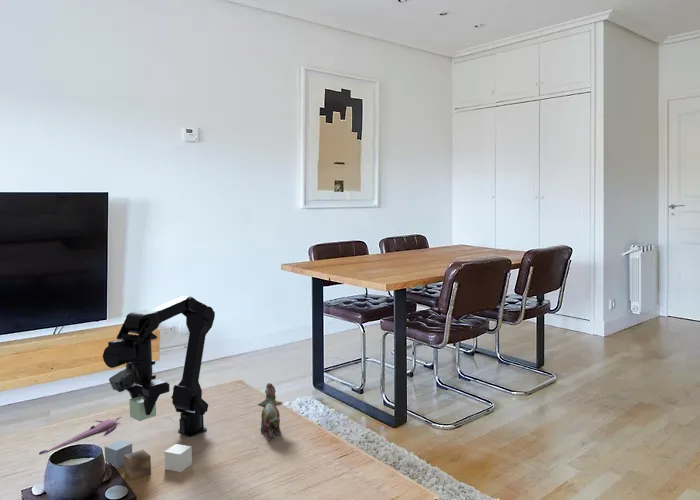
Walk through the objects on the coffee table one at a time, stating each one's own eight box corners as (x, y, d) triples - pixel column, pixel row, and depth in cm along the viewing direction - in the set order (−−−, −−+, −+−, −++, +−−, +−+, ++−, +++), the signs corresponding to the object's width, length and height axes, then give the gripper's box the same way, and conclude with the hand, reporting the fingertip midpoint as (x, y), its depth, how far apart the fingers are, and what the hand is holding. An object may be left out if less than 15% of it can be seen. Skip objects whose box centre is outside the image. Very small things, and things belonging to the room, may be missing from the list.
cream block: (176, 461, 154) (176, 443, 154) (191, 464, 153) (191, 446, 152) (164, 469, 150) (164, 451, 149) (180, 472, 148) (179, 454, 148)
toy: (112, 409, 185) (133, 419, 180) (112, 415, 185) (132, 425, 181) (29, 445, 161) (51, 457, 156) (29, 453, 161) (51, 465, 156)
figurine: (285, 426, 178) (284, 380, 176) (277, 442, 166) (276, 393, 165) (261, 425, 179) (261, 379, 177) (251, 441, 167) (250, 392, 165)
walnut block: (143, 467, 151) (142, 449, 151) (151, 473, 147) (150, 455, 147) (125, 473, 148) (124, 455, 147) (132, 480, 144) (131, 461, 144)
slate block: (120, 456, 157) (120, 439, 157) (132, 460, 155) (132, 443, 154) (105, 464, 153) (104, 446, 153) (117, 468, 151) (116, 450, 150)
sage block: (146, 411, 159) (145, 394, 159) (156, 415, 156) (155, 398, 155) (130, 416, 155) (129, 399, 155) (139, 421, 152) (138, 403, 152)
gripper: (96, 358, 154) (98, 413, 155) (130, 371, 142) (133, 430, 143) (133, 349, 162) (136, 401, 164) (169, 361, 150) (171, 417, 152)
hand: (143, 412), depth 155 cm, fingers closed on sage block, 5 cm apart
